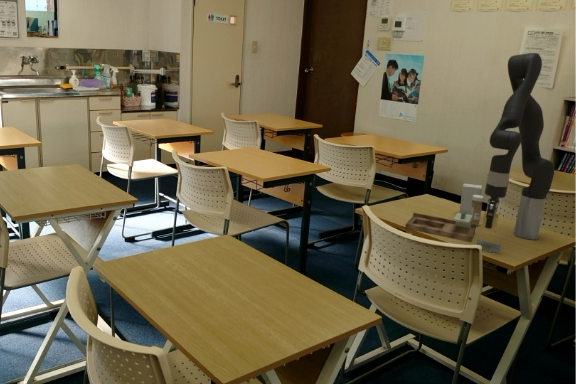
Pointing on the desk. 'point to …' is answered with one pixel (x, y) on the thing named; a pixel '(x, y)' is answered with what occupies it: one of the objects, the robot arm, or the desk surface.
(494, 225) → the block
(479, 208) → the sprinkles bottle
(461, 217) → the lock slider
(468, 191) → the skincare box
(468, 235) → the puzzle board
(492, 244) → the mat
